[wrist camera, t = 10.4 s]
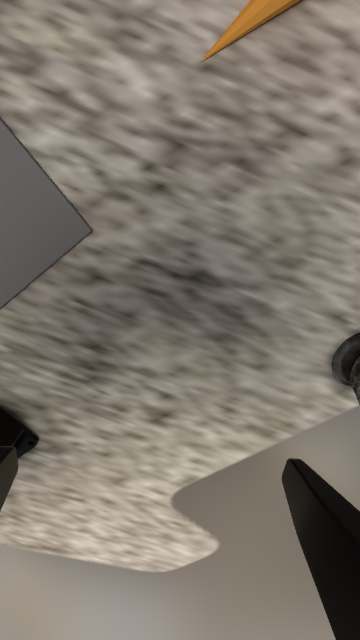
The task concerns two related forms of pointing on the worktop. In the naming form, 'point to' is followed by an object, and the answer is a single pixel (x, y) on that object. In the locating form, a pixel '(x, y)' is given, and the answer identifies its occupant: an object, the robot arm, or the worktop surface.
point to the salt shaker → (348, 364)
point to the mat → (31, 218)
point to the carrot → (250, 20)
